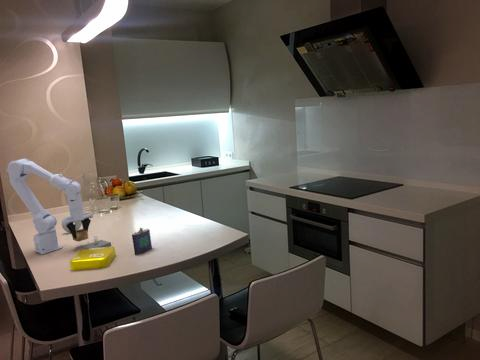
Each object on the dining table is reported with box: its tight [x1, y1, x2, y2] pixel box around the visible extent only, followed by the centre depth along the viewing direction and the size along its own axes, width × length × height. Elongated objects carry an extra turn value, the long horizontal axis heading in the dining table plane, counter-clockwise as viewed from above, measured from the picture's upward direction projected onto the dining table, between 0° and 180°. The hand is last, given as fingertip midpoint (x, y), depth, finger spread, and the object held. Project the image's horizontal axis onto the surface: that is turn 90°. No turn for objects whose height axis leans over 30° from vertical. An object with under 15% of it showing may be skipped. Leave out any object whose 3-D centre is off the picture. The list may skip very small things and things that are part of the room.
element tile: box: [69, 245, 117, 272], centre depth 170 cm, size 15×15×5 cm
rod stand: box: [81, 234, 112, 250], centre depth 188 cm, size 10×8×6 cm
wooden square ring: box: [72, 228, 89, 242], centre depth 191 cm, size 5×5×4 cm
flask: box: [131, 227, 153, 256], centre depth 178 cm, size 9×3×11 cm, turn 144°
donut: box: [61, 213, 82, 233], centre depth 217 cm, size 10×4×10 cm, turn 121°
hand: (80, 236), depth 191 cm, fingers closed on wooden square ring, 5 cm apart
